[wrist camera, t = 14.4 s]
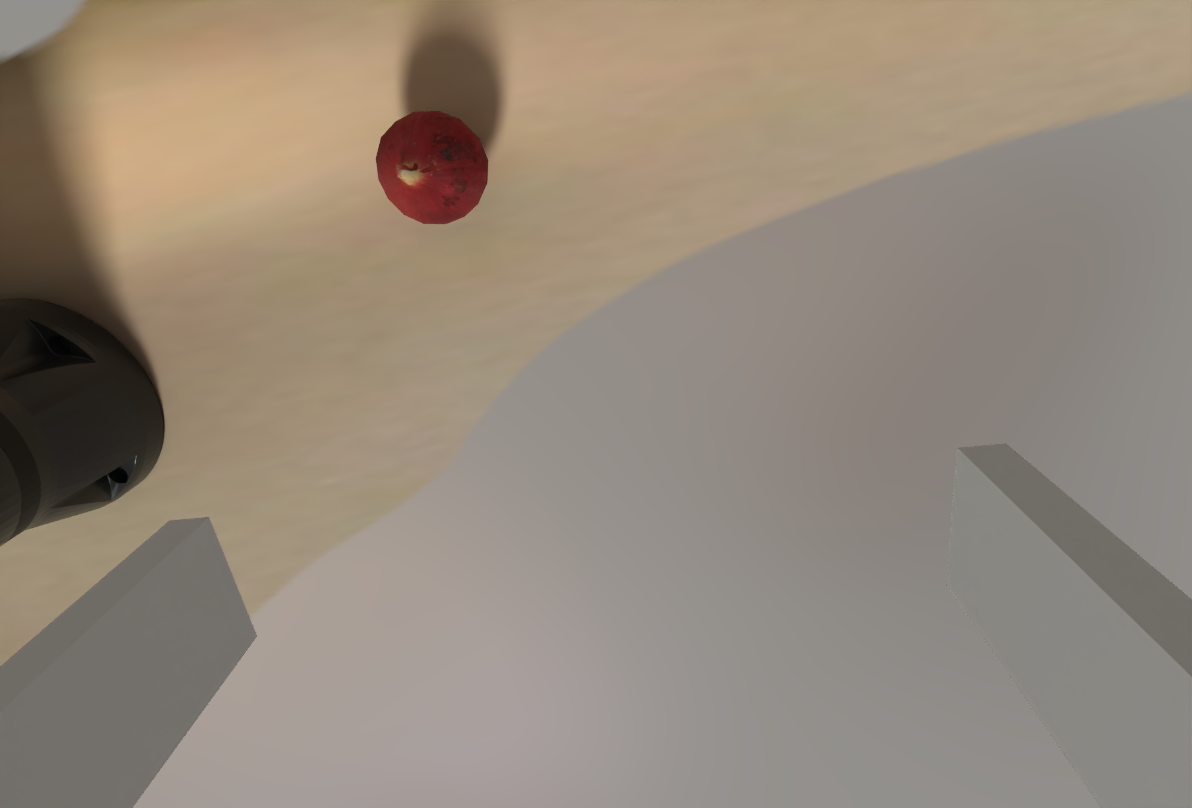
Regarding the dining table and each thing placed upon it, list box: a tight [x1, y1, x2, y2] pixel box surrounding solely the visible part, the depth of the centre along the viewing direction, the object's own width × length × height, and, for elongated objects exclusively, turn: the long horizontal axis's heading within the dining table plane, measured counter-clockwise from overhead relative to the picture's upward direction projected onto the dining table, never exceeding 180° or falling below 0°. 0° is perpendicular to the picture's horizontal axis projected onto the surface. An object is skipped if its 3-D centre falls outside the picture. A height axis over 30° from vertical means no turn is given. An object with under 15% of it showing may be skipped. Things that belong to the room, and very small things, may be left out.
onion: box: [376, 111, 488, 224], centre depth 36 cm, size 6×6×8 cm
